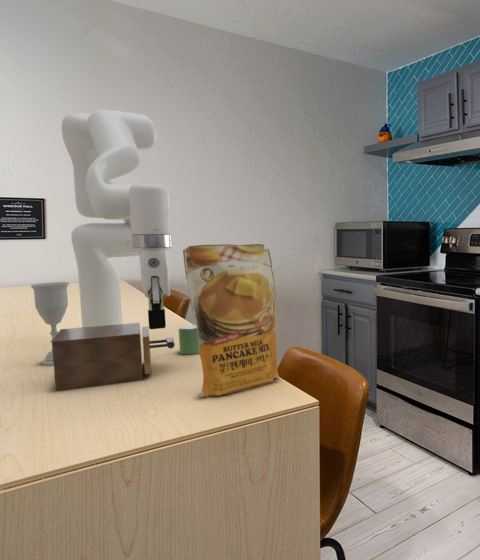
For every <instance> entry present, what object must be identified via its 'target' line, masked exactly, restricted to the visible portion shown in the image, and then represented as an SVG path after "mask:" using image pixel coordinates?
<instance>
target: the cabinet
mask: <svg viewBox="0 0 480 560" xmlns="http://www.w3.org/2000/svg"><path fill="white" fill-rule="evenodd" d="M57 332H58V334H57V335H56V337H55V338H54V340H53V341H52V343H51V351H52V350H53V362H54V365H53V373H54V384H55V391H64V390H72V389H80V388H89V387H95V386H102V385H103V386H104V385H111V384H117V383H118V384H119V383H127V382H132V381H133V382H134V381H142V380H143V359H142V358H143V357H142V339H141V326H140V322H131V323H122V324H119V325H106V326H94V327H72V328H61V329H60V330H59V331H57Z"/></svg>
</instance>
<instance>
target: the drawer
mask: <svg viewBox="0 0 480 560" xmlns="http://www.w3.org/2000/svg"><path fill="white" fill-rule="evenodd" d="M141 329H142V330H141V331H142V349H143V365H144V367H143V368H144V375H148V374H152V360H151V359H152V358H151V349H158V348H168V349H174V347H175V345H176V344H175V340H174V338H173V336H167V337H166V338H165V339H155V340H153V339H152V340H150V329H149V326H142V327H141Z"/></svg>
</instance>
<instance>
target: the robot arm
mask: <svg viewBox="0 0 480 560" xmlns="http://www.w3.org/2000/svg"><path fill="white" fill-rule="evenodd" d="M60 129H61V135H62V140H63V143H64V146H65V149H66V150H67V153H68V155H69V158H70V160H71V164H72V170H73V183H74V185H73V187H74V197H75V198H74V199H75V205H76V209H77V212H78V214H80V215H81V216H82V217H86V218H91V219H104V220H123V222H86V223H82V224H79V225H76V226H75V227H74V228H73V229H72V231H71V235H70V238H71V245H72V248H73V252H74V255H75V261H76V268H77V276H78V277H77V278H78V286H79V287H78V289H79V301H80V313H81V315H80V317H81V326H82V327H94V326H106V325H119V324H123V316H122V315H123V312H122V296H121V283H120V274H119V271H118V269H117V268H116V266H114V265H113V264H112V263H111V262H110V261H109V260H108V259H112V258H131V257H138V256H139V257H138V258H139V268H140V276H141V277H140V279H141V285H142V289H143V294H144V297H145V298H147V299H148V309H147V317H148V319H147V320H148V328H149V330H157V329H158V330H159V329H165V328H166V327H167V324H166V323H167V322H166V308H164V296H163V295H166V297H170V296H171V285H170V284H171V282H170V267H169V256H168V251H170V250H173V240H172V227H171V225H172V224H171V209H170V208H171V206H170V192H169V189H168V187H166V186H165V185H162V184H157V183H134V184H129V183H114V182H113V179H117V178H119V177H122V176H125V175H128V174H131V173H132V172H134V171H135V170H136V169H138V167H139V166H140V165H141V161H142V156H141V153H140V152H143V151H148V150H151V149H152V148H153V147H154V146H155V144H156V141H157V131H156V127H155V124H154V123H153V121H152V120H151V118H150V117H148V116H147V115H145V114H142V113H137V112H128V111H122V110H116V109H115V110H114V109H98V110H95V111H93V112H91V113H86V112H85V113H84V112H73V113H68V114H66V115H64V117H63V118H62V119H61V128H60ZM82 327H81V328H82Z"/></svg>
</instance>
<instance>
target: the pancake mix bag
mask: <svg viewBox="0 0 480 560" xmlns="http://www.w3.org/2000/svg"><path fill="white" fill-rule="evenodd" d="M269 249H270V248H265V244H261V243H255V244H254V243H252V244H230V243H229V244H228V243H227V244H226V243H225V244H224V243H223V244H222V243H221V244H220V243H219V244H218V243H217V244H197V245H188V246H187V247H186V248H184V249H183V250H182V254H183V264H184V265H183V266H184V272H185V273H184V274H185V278H186V281H187V285H188V293H189V298H190V299H189V300H190V306H191V311H192V314H193V318H194V322H195V325H196V326H197V330H198V342H199V353H198V354H199V357H200V361H201V366H202V386H201V392H200V398H203V397H219V396H221V397H222V396H226V395H228V394H234V393H238V392H242V391H245V390H249V389H253V388H257V387H261V386H265V385H269V384H271V383H273V382H274V380H275V379H277V378H280V375H279V372H278V367H277V366H278V365H277V363H278V362H277V361H278V337H277V330H278V329H277V324H278V323H277V321H278V319H277V317H278V315H277V292H276V284H275V277H274V271H273V265H272V257H271V254H270V253H271V252H270V250H269Z"/></svg>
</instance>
